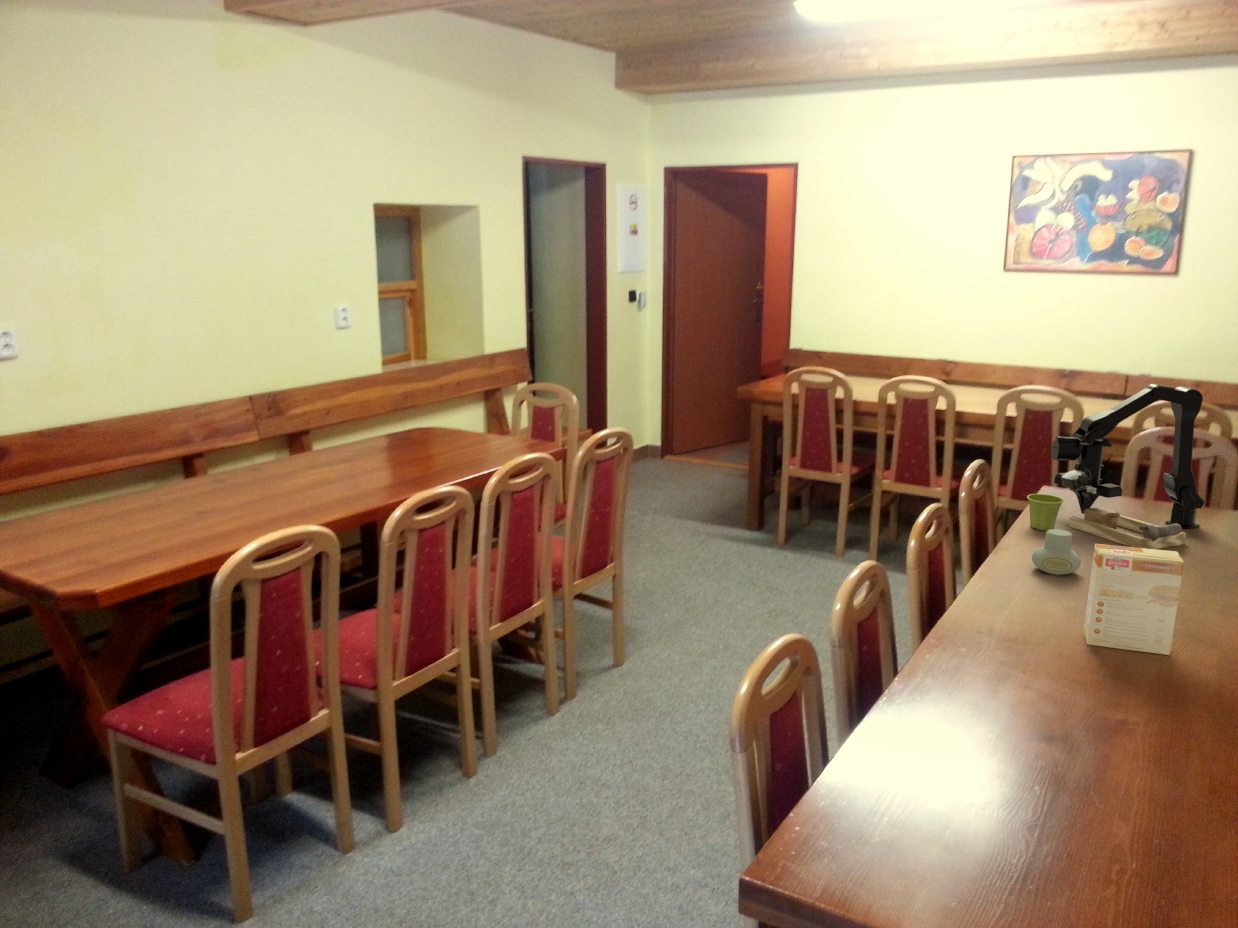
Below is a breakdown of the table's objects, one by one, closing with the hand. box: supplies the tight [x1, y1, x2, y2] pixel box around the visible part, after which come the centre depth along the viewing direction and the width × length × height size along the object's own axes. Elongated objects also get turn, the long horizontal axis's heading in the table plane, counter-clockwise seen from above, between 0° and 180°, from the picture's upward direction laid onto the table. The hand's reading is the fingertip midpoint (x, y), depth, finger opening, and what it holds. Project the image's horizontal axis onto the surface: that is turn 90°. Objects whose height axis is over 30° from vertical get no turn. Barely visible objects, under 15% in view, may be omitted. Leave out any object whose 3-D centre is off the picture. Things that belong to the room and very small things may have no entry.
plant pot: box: [1026, 493, 1065, 532], centre depth 269 cm, size 9×9×9 cm
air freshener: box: [1031, 528, 1082, 576], centre depth 233 cm, size 11×8×10 cm
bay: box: [1067, 514, 1187, 550], centre depth 263 cm, size 16×25×7 cm, turn 25°
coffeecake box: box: [1083, 543, 1185, 656], centre depth 190 cm, size 15×7×20 cm, turn 71°
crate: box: [1083, 506, 1121, 530], centre depth 271 cm, size 6×7×5 cm
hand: (1083, 513), depth 276 cm, fingers closed
